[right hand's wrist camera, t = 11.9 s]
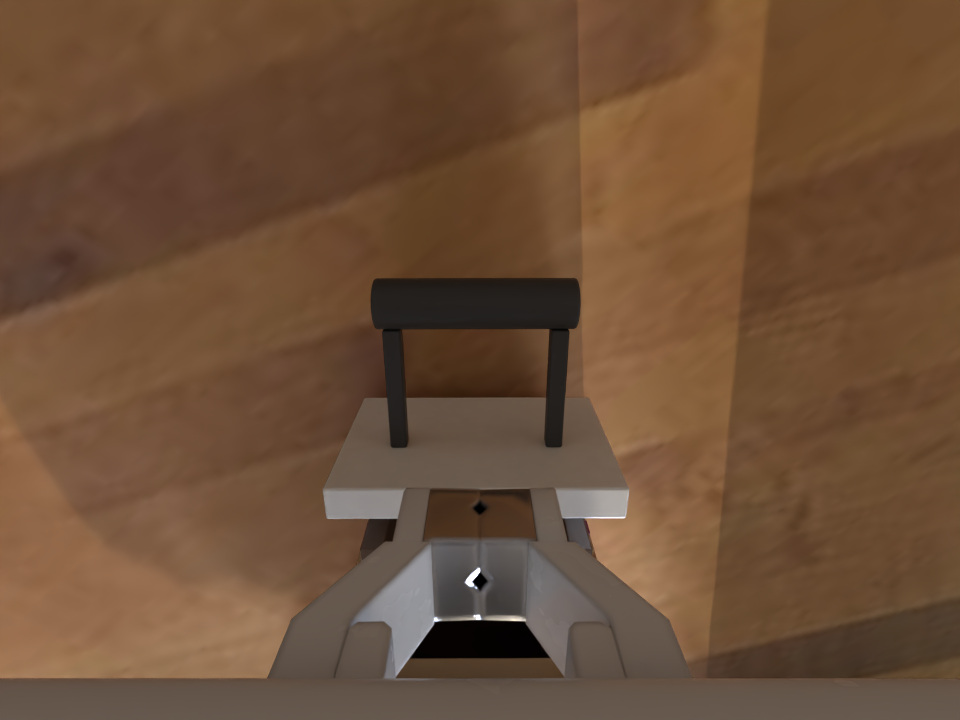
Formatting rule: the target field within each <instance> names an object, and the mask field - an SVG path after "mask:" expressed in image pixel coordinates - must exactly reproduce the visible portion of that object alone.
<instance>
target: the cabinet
mask: <svg viewBox="0 0 960 720" xmlns="http://www.w3.org/2000/svg"><path fill="white" fill-rule="evenodd" d="M368 522H369V521H368ZM367 525H368V524H367ZM585 525H586V528H587V532H588V535H589V539H590V542H591V546H592V549H593V551H592V556H593V557H594V558H595V559H596V560H597V558H596V555H595V551H594V548H593V544H592V541H591V537H590V531H589V528H588V524H587V521H585ZM366 528H367V527H366ZM365 532H366V531H365ZM360 562H361V555H360V553H359V557H358V560H357V564H359V563H360ZM357 564H356V565H357ZM396 678H564V676H563V674H562V673H561V672H560V670H559V669H558V667H557V666H556V665H555V663H554V662H553V661H552V659H551V658H409V660H408V661H407V662H406V664H405V665H404V666H403V668H402V669H401V671H400V672H399V673H398V675H397V676H396Z"/></svg>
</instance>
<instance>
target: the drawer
mask: <svg viewBox="0 0 960 720" xmlns="http://www.w3.org/2000/svg"><path fill="white" fill-rule="evenodd" d="M371 314H372V320H373V324H374V326H375V328H376V329H383V332H382V336H383V350H384V363H385V377H386V390H387V398H364V400H363V403H362V405H361V407H360V409H359V411H358V413H357V416H356V418H355V420H354V422H353V424H352V427H351V429H350V431H349V433H348V435H347V437H346V440H345V442H344V444H343V446H342V448H341V450H340V453H339V455H338V457H337V459H336V461H335V464H334V466H333V468H332V470H331V472H330V474H329V477H328V479H327V481H326V483H325V485H324V488H323V497H324V504H325V512H326V517H327V518H328V519H369V522H368V525H367V528H366V532H365V535H364V538H363V542H362V545H361V549H360V555H361V561H362V560H364V559H365V558H366V557H367V556H368V555H370V554H371V553H372V552H373V551H374V550H376V549H377V548H378V547H379V546H380V545H382V544H383V543H384V542H392V541H393V537H394V532H395V528H396V523H397V519H398V515H399V510H400V506H401V501H402V497H403V492H404V490H405V489H406V488H470V489H529V488H546V487H553V488H554V489H555V490H556V493H557V497H558V502H559V506H560V511H561V515H562V519H563V524H564V528H565V533H566V537H567V541H568V542H576V543H577V544H578V545H580V546H581V547H582V548H583V549H584V550H586V551H587V552H588V553H589V554H590V555H592V551H593V549H592V546H591V542H590V539H589V535H588V532H587V528H586V525H585V521H584V518H625V517H626V512H627V504H628V496H629V487H628V485H627V482H626V480H625V478H624V476H623V473H622V471H621V469H620V467H619V464H618V462H617V460H616V458H615V455H614V453H613V451H612V449H611V446H610V444H609V442H608V440H607V437H606V435H605V433H604V431H603V428H602V426H601V424H600V421H599V419H598V417H597V415H596V412H595V410H594V408H593V406H592V403H591V401H590V399H589V398H588V397H565V392H566V376H567V361H568V346H569V330H568V329H574V328H576V327H577V325H578V321H579V316H580V288H579V283H578V281H577V279H575V278H377V279H375V280H374V281H373V284H372V289H371ZM402 329H550V330H549V350H548V370H547V390H546V398H406V384H405V367H404V350H403V333H402ZM410 658H550V656H549V655H548V654H547V652H546V651H545V650H544V648H543V647H542V645H541V644H540V643H539V641H538V640H537V639H536V637H535V636H534V634H533V633H532V632H531V630H530V629H529V627H528V626H527V625H526V621H499V620H460V621H434V625H433V627H432V628H431V629H430V631H429V632H428V634H427V635H426V636H425V638H424V639H423V640H422V642H421V643H420V644H419V646H418V647H417V649H416V650H415V651H414V653H413V654H412V655H411V657H410Z"/></svg>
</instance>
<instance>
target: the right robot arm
mask: <svg viewBox="0 0 960 720" xmlns="http://www.w3.org/2000/svg"><path fill="white" fill-rule="evenodd" d="M460 620H499V621H526V625H527V626H528V627H529V629H530V630H531V632H532V633H533V634H534V636H535V637H536V639H537V640H538V641H539V643H540V644H541V645H542V647H543V648H544V650H545V651H546V652H547V654H548V655H549V656H550V658H551V659H552V661H553V662H554V663H555V665H556V666H557V667H558V669H559V670H560V672H561V673H562V674H563V676H564V678H396V676H397V675H398V673H399V672H400V671H401V669H402V668H403V666H404V665H405V664H406V662H407V661H408V660H409V658H410V657H411V655H412V654H413V653H414V651H415V650H416V649H417V647H418V646H419V644H420V643H421V642H422V640H423V639H424V638H425V636H426V635H427V634H428V632H429V631H430V629H431V628H432V627H433V625H434V621H460ZM0 720H960V678H692V675H691V673H690V670H689V668H688V665H687V663H686V660H685V658H684V655H683V653H682V650H681V648H680V646H679V643H678V641H677V638H676V636H675V633H674V631H673V628H672V626H671V623H670V621H669V619H667V618H666V617H665V616H664V615H663V614H661V613H660V612H659V611H658V610H657V609H655V608H654V607H653V606H652V605H651V604H649V603H648V602H647V601H646V600H645V599H643V598H642V597H641V596H640V595H639V594H637V593H636V592H635V591H634V590H633V589H631V588H630V587H629V586H628V585H627V584H625V583H624V582H623V581H622V580H620V579H619V578H618V577H617V576H616V575H614V574H613V573H612V572H611V571H610V570H608V569H607V568H606V567H605V566H604V565H602V564H601V563H600V562H599V561H598V560H596V559H595V558H594V557H593V556H592V555H590V554H589V553H588V552H587V551H586V550H584V549H583V548H582V547H581V546H580V545H578V544H577V543H576V542H568V541H567V537H566V533H565V528H564V524H563V519H562V515H561V511H560V506H559V502H558V497H557V493H556V490H555V489H554V488H553V487H546V488H529V489H470V488H406V489H405V490H404V492H403V497H402V501H401V506H400V510H399V515H398V519H397V523H396V528H395V532H394V537H393V541H392V542H384V543H383V544H382V545H380V546H379V547H378V548H377V549H376V550H374V551H373V552H372V553H371V554H370V555H368V556H367V557H366V558H365V559H364V560H362V561H361V562H360V563H359V564H357V565H356V566H355V567H354V568H353V569H351V570H350V571H349V572H348V573H347V574H345V575H344V576H343V577H342V578H341V579H339V580H338V581H337V582H336V583H334V584H333V585H332V586H331V587H330V588H328V589H327V590H326V591H325V592H324V593H322V594H321V595H320V596H319V597H318V598H316V599H315V600H314V601H313V602H311V603H310V604H309V605H308V606H307V607H305V608H304V609H303V610H302V611H301V612H299V613H298V614H297V615H296V616H295V617H293V618H292V619H291V621H290V624H289V626H288V629H287V631H286V634H285V636H284V638H283V641H282V643H281V646H280V648H279V651H278V653H277V656H276V658H275V661H274V663H273V665H272V668H271V670H270V673H269V675H268V678H0Z"/></svg>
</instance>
